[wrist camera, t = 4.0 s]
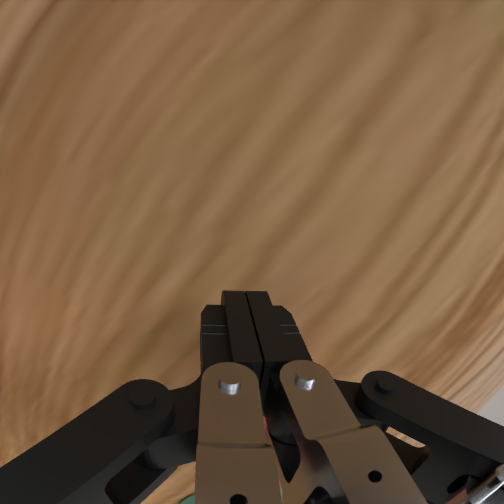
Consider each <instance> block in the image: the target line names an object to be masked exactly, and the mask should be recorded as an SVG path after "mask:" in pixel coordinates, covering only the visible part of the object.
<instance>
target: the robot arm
mask: <svg viewBox="0 0 504 504" xmlns="http://www.w3.org/2000/svg"><path fill="white" fill-rule="evenodd" d="M200 359H201V375H200V376H199V378H198V379H197V380H196V381H195V382H193V383H192V384H190V385H188V386H186V387H182V388H178V389H174V390H168V389H167V388H166V387H165V386H164V385H162V384H161V383H159V382H156V381H153V380H147V379H138V380H133V381H130V382H127V383H125V384H124V385H122V386H121V387H119V388H118V389H117V390H115V391H114V392H112V393H111V394H109V395H108V396H107V397H105V398H104V399H102V400H101V401H99V402H98V403H97V404H95V405H94V406H92V407H91V408H89V409H88V410H86V411H85V412H84V413H82V414H81V415H79V416H78V417H76V418H75V419H73V420H72V421H70V422H69V423H67V424H66V425H65V426H63V427H62V428H60V429H59V430H57V431H56V432H54V433H53V434H51V435H50V436H48V437H47V438H45V439H44V440H42V441H41V442H39V443H38V444H36V445H35V446H33V447H32V448H30V449H29V450H27V451H25V452H24V453H22V454H21V455H19V456H18V457H16V458H15V459H13V460H12V461H10V462H8V463H7V464H5V465H4V466H2V467H1V468H0V504H140V503H141V502H142V501H144V500H145V499H146V498H147V497H148V496H149V495H150V494H151V493H152V492H153V491H154V490H155V489H156V488H157V487H159V486H160V485H161V484H162V483H163V482H164V481H165V480H166V479H167V478H168V477H169V476H170V475H171V474H172V473H173V472H174V471H175V470H176V469H177V467H178V465H182V464H186V463H190V462H193V461H196V472H195V504H504V427H503V426H501V425H499V424H497V423H494V422H492V421H490V420H488V419H486V418H484V417H481V416H479V415H477V414H475V413H473V412H471V411H468V410H466V409H464V408H462V407H460V406H458V405H456V404H454V403H451V402H449V401H447V400H445V399H443V398H441V397H439V396H437V395H435V394H433V393H431V392H429V391H427V390H425V389H423V388H421V387H419V386H417V385H415V384H413V383H411V382H409V381H407V380H405V379H403V378H401V377H399V376H397V375H395V374H392V373H390V372H387V371H372V372H370V373H368V374H366V375H365V376H364V378H363V379H362V382H361V383H355V382H347V381H340V380H336V379H333V378H332V376H331V375H330V373H329V372H328V370H327V369H326V368H324V367H323V366H321V365H320V364H318V363H315V362H313V361H312V359H311V356H310V354H309V352H308V350H307V348H306V345H305V343H304V341H303V339H302V336H301V334H299V330H298V328H297V326H296V323H295V321H294V319H293V316H292V314H291V313H290V312H288V311H287V310H286V309H285V308H284V307H283V306H273V305H272V303H271V300H270V298H269V295H268V293H267V291H245V292H244V291H226V290H223V291H222V298H221V305H207V306H206V307H205V308H204V310H203V311H202V313H201V331H200ZM263 416H265V419H266V423H267V426H266V430H265V428H264V420H263ZM389 426H390V427H392V428H393V429H395V430H397V431H399V432H401V433H403V434H405V435H407V436H409V437H411V438H413V439H415V440H417V441H419V442H421V443H423V444H425V445H426V446H424V447H421V448H418V447H414V446H412V445H410V444H408V443H406V442H404V441H402V440H400V439H398V438H396V437H394V436H392V435H391V434H389V433H387V432H386V430H387V429H388V427H389ZM278 478H279V479H278ZM279 481H280V484H281V487H282V498H281V492H280V485H279Z"/></svg>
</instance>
